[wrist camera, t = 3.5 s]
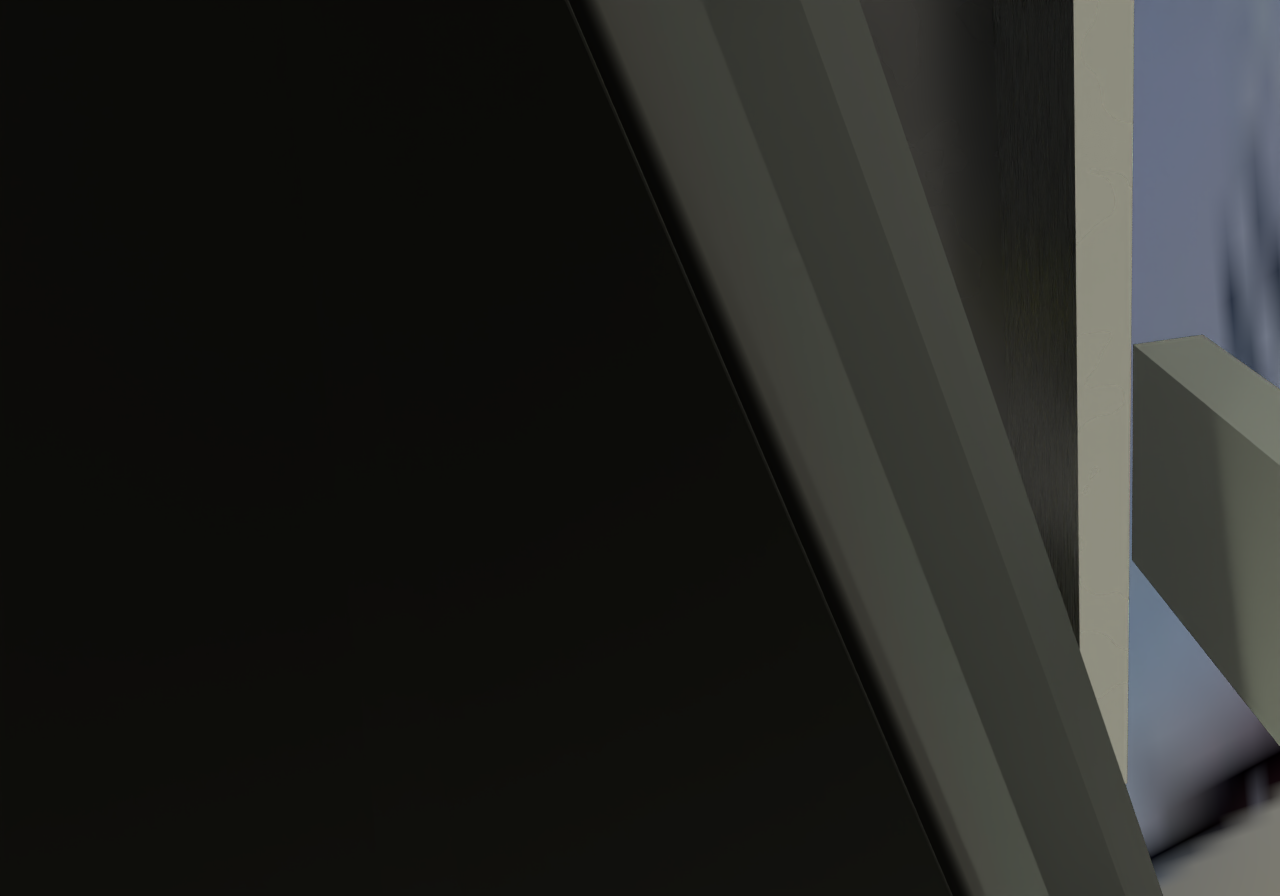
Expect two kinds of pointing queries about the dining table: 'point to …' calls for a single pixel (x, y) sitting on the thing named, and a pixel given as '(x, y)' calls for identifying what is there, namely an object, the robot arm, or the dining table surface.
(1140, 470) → the robot arm
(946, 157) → the case
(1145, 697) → the dining table surface
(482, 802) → the electrical component
